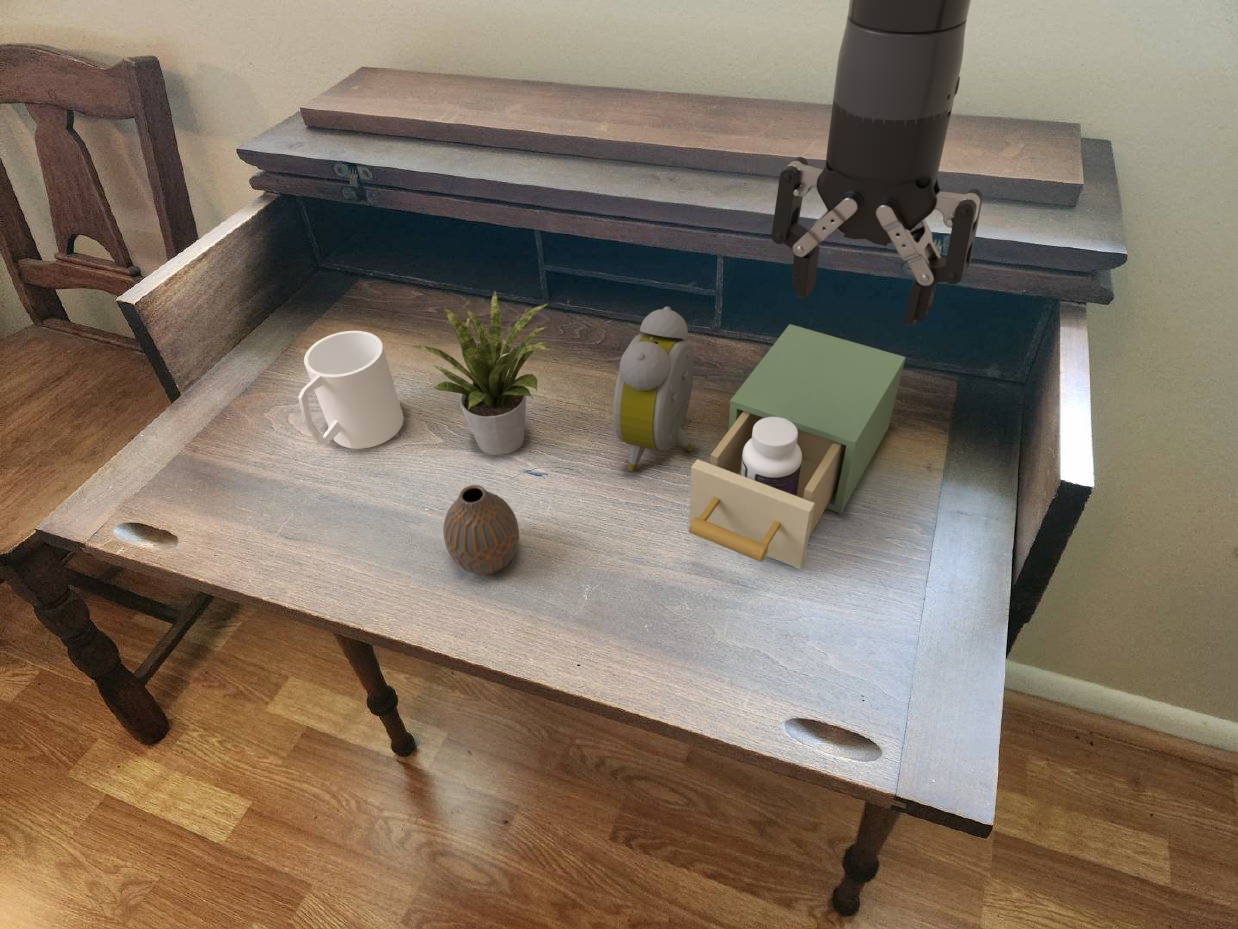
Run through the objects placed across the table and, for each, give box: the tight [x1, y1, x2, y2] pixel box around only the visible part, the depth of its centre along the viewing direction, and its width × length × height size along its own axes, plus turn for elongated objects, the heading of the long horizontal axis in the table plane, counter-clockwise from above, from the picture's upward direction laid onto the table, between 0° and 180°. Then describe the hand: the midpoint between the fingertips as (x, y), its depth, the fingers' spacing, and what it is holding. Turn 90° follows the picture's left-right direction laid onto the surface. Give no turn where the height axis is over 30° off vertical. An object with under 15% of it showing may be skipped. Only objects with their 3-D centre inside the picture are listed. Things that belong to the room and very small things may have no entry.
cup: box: [297, 330, 405, 450], centre depth 90 cm, size 8×12×10 cm
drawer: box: [688, 411, 846, 570], centre depth 78 cm, size 18×11×8 cm, turn 149°
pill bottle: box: [741, 417, 802, 496], centre depth 77 cm, size 5×5×10 cm
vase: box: [442, 484, 520, 575], centre depth 77 cm, size 7×7×9 cm
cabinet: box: [727, 323, 906, 515], centre depth 85 cm, size 15×13×10 cm
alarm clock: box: [612, 306, 695, 472], centre depth 85 cm, size 12×7×15 cm, turn 160°
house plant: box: [411, 290, 553, 456], centre depth 86 cm, size 14×14×16 cm
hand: (857, 306), depth 65 cm, fingers open, 8 cm apart
